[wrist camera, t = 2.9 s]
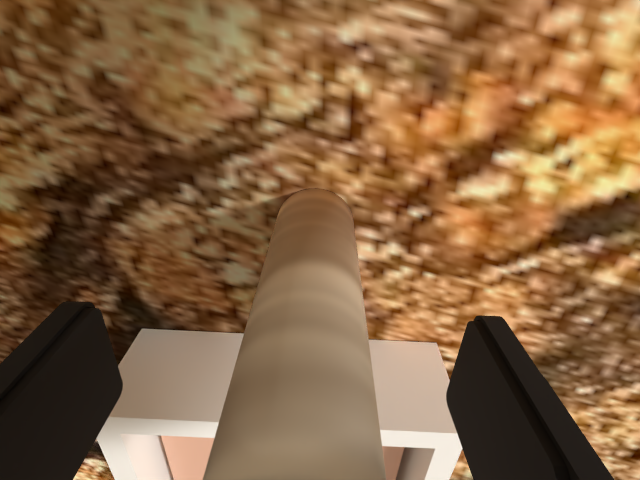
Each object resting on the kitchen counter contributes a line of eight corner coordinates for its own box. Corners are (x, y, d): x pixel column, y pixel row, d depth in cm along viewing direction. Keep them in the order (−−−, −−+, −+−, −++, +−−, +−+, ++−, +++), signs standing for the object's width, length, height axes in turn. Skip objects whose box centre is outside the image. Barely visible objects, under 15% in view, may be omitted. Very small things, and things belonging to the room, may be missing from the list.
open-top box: (141, 328, 17) (86, 416, 13) (436, 342, 17) (468, 434, 13) (188, 499, 25) (162, 585, 21) (389, 509, 25) (400, 596, 21)
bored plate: (173, 383, 17) (156, 421, 16) (400, 393, 18) (408, 433, 16) (201, 498, 23) (190, 536, 21) (373, 506, 23) (377, 545, 21)
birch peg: (276, 186, 13) (178, 468, 5) (356, 190, 13) (407, 479, 5) (277, 254, 15) (205, 563, 6) (350, 258, 15) (378, 571, 6)
